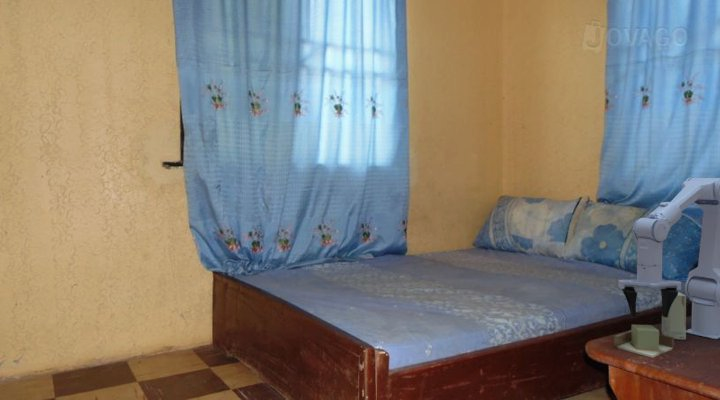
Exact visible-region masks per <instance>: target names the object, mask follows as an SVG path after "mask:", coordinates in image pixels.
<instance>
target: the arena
mask: <svg viewBox="0 0 720 400" xmlns="http://www.w3.org/2000/svg"><path fill="white" fill-rule="evenodd" d="M613 348H615V349H616V348H617V349H620V350H622V351H626V352H630V353H633V354H637V355H641V356H645V357H649V358H655V357H657V356H660V355H662V354H665V353H667V352H669V351H672V350H674V349H675V339H674V337H670V336H666V335H664V334H663V333H659V350H641V349H637V348H636V347H635V346H634V345H633V344H632V343H631V329H629V330H628V331H624V332H621V333H618V334H616V335H614V336H613Z"/></svg>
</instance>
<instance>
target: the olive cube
mask: <svg viewBox="0 0 720 400" xmlns="http://www.w3.org/2000/svg"><path fill="white" fill-rule="evenodd" d="M630 330H631V343H632V344H633V345H634V346H635V347H636V348H637V349H641V350H659V334H660V331H659V329H657V328H656V327H655V326H653V324H631V329H630Z"/></svg>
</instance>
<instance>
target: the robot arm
mask: <svg viewBox="0 0 720 400" xmlns="http://www.w3.org/2000/svg"><path fill="white" fill-rule="evenodd" d="M692 204H693V205H695V206H696V207H698V208H700V210H701V211H702V212H703V214H702V225H701V233H700V244H699V252H698V253H699V254H698V262H697V267H695V268H694V269H692V270H690V271H689V272H688V275H687V279H686V281H685V284H684V292H685V295H686V297H688V298H689V301H691V328H689V329H686V334H687V333H688V334H689V335H695V336H698V337H699V336H701V337H704V338H709V339H713V340H718V339H720V177H692V176H691V177H688V178H687V179H686V180H685V181H683V182H682V185H681V190H680V191H679V192H678V193H677V195H675V197H673V199H672V200H671V201H665V202H663V201H662V202H660V203H659V206H657V207H656V208H655V209H654V210H653V211H651V212H650V213H649V214H648V215H647V216H646V217H640V218H639V219H637V220H636V221H635V222H634V224H633V228H631V232H632V236H633V237H634V243H635V246H637V247H636V249H637V253H636V254H637V255H636V256H637V257H636V278H635V279H633V278H632V279H618V283H617V284H618V288H619V289H621V290H622V292H623V294H624V297H625V300H626V301H627V302H626V303H627V304H628V308H629V314H630V316H632V317H633V318H634V317H637V298H638V292H637V291H636V289H653V290H656V289H657V290H659V289H660V294H661V317H662V316H664V317H668V314H669V310H670V308H671V305H672V303H673V301H674V300H675V298H676V297H677V295H678V292H679V291H680V290H681V291H682V282H681V281H679V280H667V279H663V242H664V241H665V240H666V239H667V237H668V234H669V231H671V227H673V226H674V225H675V224H676V223H677V222H678V221H679V220H680V219H681V218H682V215H683V213H682V212H683V211H684V210H686V209H687V208H688V207H690V206H691V205H692Z"/></svg>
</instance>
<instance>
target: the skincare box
mask: <svg viewBox="0 0 720 400" xmlns="http://www.w3.org/2000/svg"><path fill="white" fill-rule="evenodd" d="M686 330H687V294H683V293H682V292H679V291H678V295H677V297H676V298H675V300H674V301H673V303H672V305H671V308H670V310H669V314H668V317H664V316H662V315H661V334H662V335H666V336H670V337H674V340H686V339H687V333H686Z"/></svg>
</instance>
